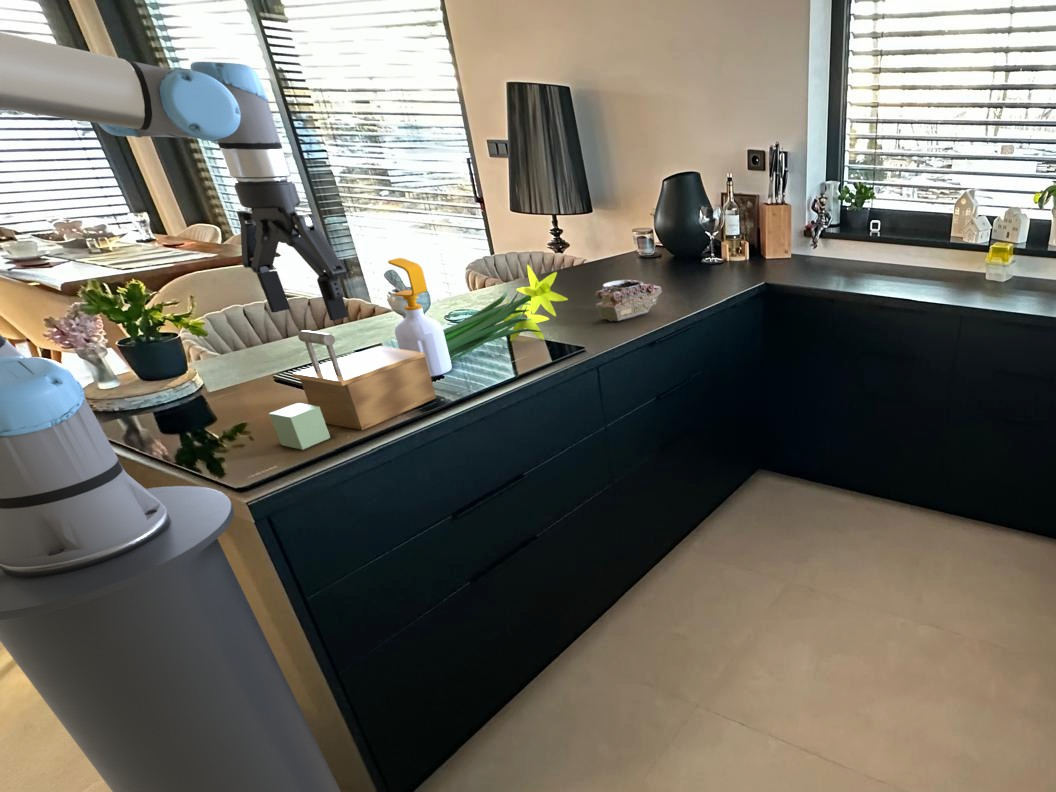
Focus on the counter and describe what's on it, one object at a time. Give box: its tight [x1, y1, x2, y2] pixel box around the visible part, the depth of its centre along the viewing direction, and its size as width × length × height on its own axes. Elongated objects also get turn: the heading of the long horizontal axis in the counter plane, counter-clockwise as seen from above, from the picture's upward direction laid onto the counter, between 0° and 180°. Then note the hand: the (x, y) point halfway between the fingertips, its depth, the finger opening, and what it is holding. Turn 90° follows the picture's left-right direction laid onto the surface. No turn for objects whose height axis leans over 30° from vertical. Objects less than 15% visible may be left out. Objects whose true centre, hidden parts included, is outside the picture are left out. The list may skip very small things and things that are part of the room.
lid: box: [292, 329, 425, 386], centre depth 115 cm, size 18×12×8 cm, turn 162°
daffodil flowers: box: [443, 263, 569, 363], centre depth 154 cm, size 17×15×35 cm
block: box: [268, 402, 331, 451], centre depth 107 cm, size 5×5×6 cm
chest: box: [299, 357, 437, 431], centre depth 119 cm, size 17×12×9 cm
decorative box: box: [595, 279, 663, 322], centre depth 185 cm, size 13×20×10 cm, turn 139°
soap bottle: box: [387, 257, 453, 378], centre depth 135 cm, size 9×9×25 cm
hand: (309, 314), depth 106 cm, fingers open, 13 cm apart
